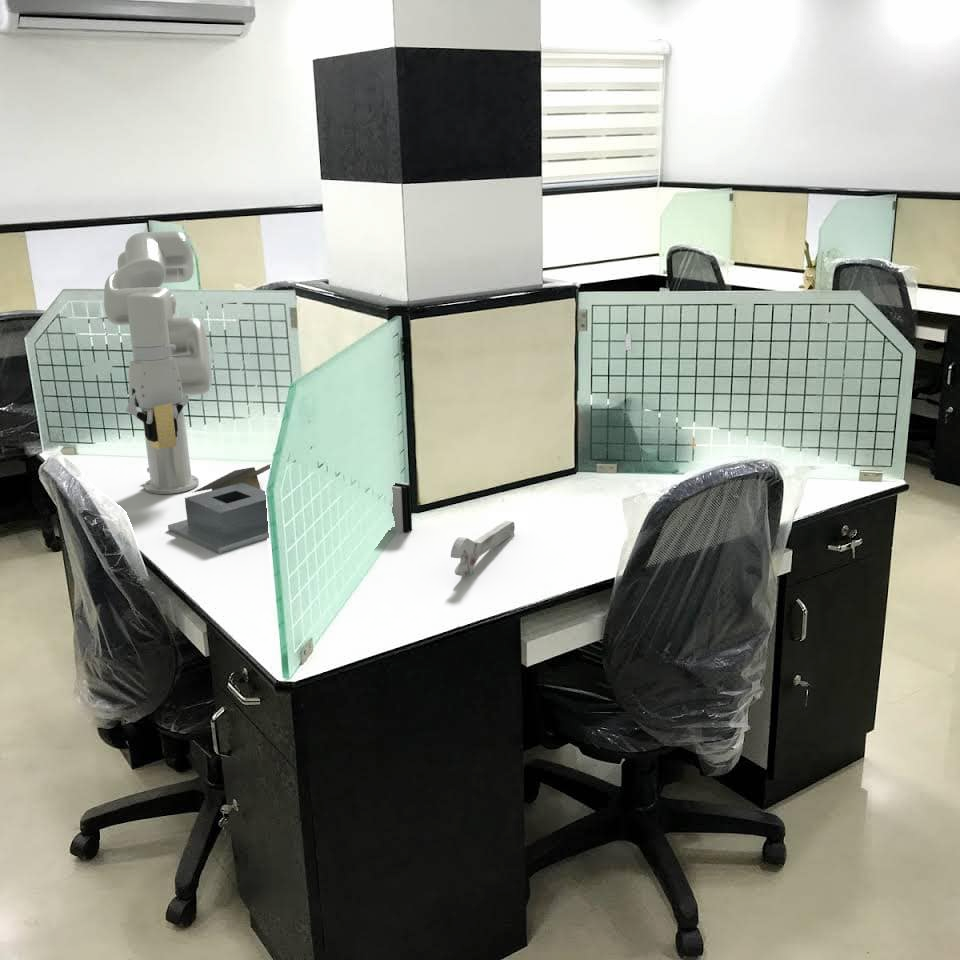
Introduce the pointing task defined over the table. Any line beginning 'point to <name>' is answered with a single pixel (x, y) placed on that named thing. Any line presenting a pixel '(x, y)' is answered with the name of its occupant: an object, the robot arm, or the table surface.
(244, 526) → the collar block
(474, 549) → the wrench
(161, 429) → the brass pin
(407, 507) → the hinge
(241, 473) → the beige piece
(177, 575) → the table surface
